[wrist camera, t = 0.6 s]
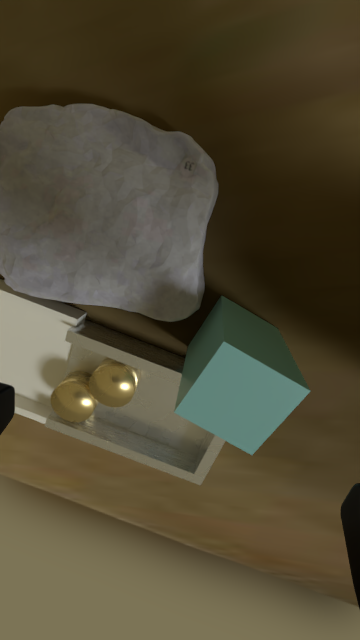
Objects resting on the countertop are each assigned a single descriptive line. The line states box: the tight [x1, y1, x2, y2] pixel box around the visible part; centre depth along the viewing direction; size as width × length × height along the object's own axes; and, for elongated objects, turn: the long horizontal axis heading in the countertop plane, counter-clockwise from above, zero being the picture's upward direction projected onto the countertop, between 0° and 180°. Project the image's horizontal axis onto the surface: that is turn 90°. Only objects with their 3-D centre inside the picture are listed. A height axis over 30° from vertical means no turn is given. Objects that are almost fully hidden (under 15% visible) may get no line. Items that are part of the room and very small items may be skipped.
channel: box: [45, 320, 225, 485], centre depth 21 cm, size 12×8×2 cm
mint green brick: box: [174, 295, 310, 455], centre depth 16 cm, size 4×4×7 cm
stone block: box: [0, 103, 218, 322], centre depth 16 cm, size 12×5×10 cm
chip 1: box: [50, 371, 99, 422], centre depth 21 cm, size 3×3×2 cm
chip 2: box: [89, 357, 141, 407], centre depth 20 cm, size 3×3×2 cm
